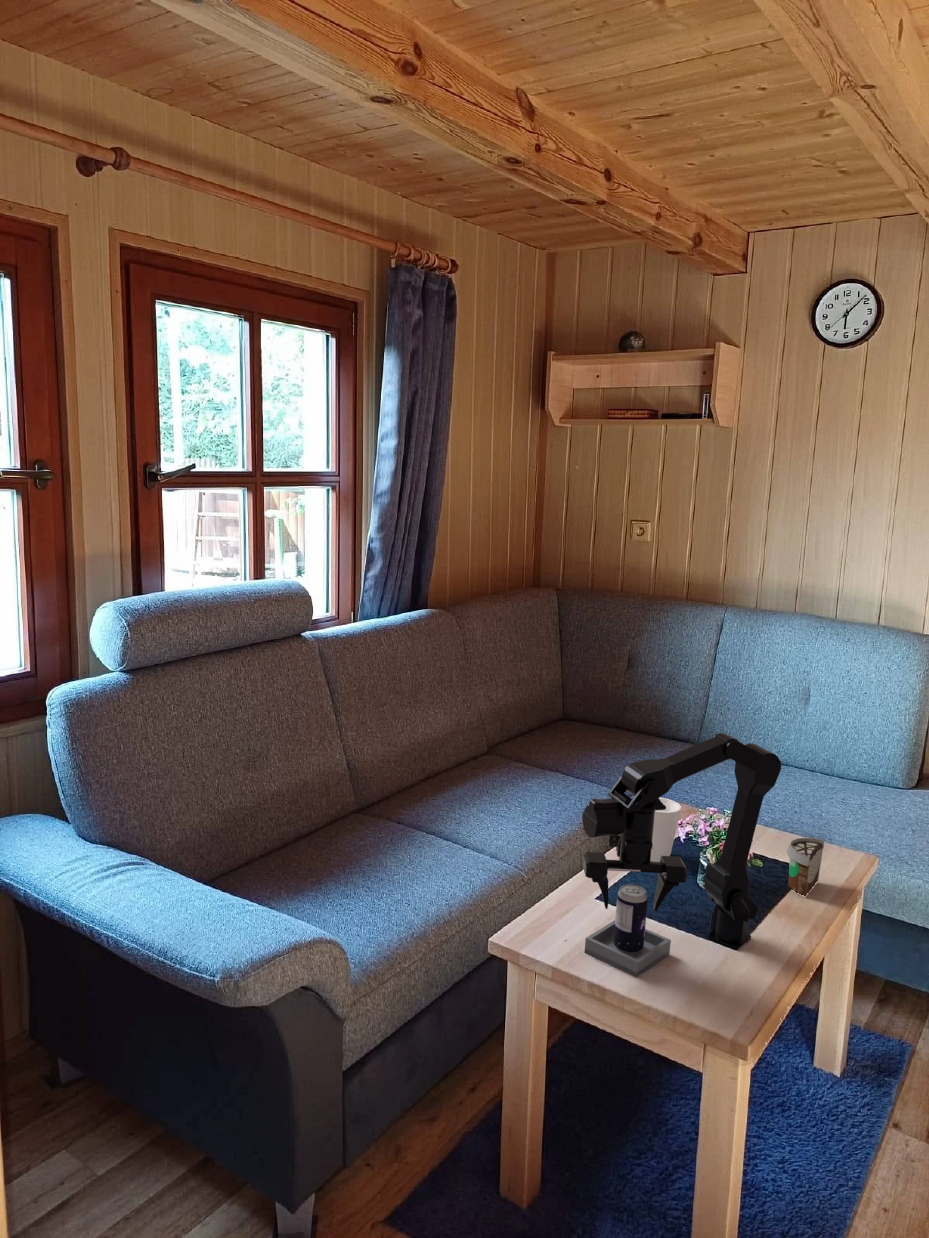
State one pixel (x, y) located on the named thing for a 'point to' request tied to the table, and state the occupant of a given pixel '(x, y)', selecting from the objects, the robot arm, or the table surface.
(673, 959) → the table surface
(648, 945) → the tray
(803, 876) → the food container
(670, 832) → the foam cup
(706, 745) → the robot arm
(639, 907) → the beverage can
